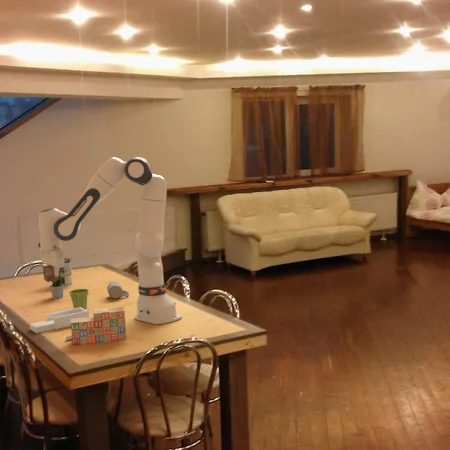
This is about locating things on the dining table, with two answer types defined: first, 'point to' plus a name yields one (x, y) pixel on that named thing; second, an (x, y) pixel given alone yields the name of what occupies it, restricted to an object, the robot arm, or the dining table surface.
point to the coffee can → (66, 273)
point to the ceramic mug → (116, 290)
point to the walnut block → (49, 274)
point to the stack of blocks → (99, 327)
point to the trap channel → (59, 320)
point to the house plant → (58, 286)
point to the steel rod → (69, 338)
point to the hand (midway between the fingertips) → (53, 275)
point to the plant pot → (79, 298)
